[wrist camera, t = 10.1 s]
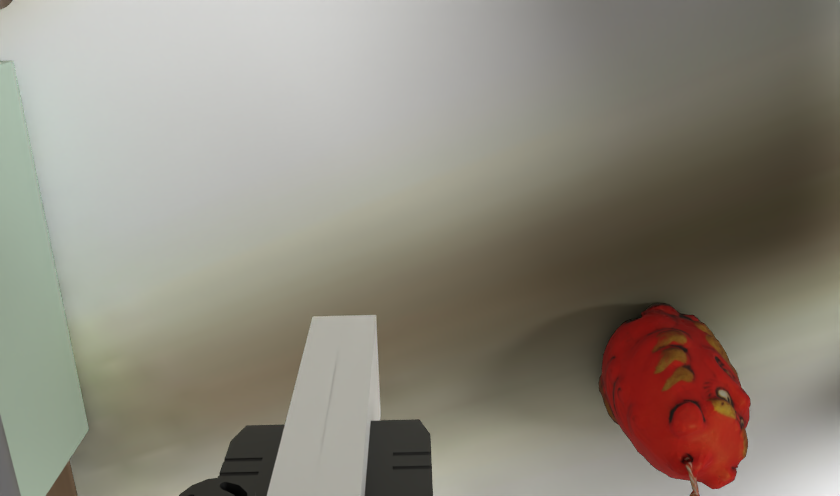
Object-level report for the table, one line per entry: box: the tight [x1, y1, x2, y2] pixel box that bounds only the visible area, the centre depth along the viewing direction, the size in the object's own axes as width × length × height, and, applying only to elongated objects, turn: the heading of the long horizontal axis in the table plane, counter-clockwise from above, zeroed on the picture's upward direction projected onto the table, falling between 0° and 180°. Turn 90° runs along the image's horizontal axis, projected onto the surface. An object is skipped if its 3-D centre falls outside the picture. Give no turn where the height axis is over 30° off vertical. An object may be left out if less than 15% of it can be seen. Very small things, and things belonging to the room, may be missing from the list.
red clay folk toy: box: [599, 303, 751, 496], centre depth 37 cm, size 8×7×15 cm
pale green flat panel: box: [0, 61, 89, 496], centre depth 37 cm, size 21×2×9 cm, turn 1°
